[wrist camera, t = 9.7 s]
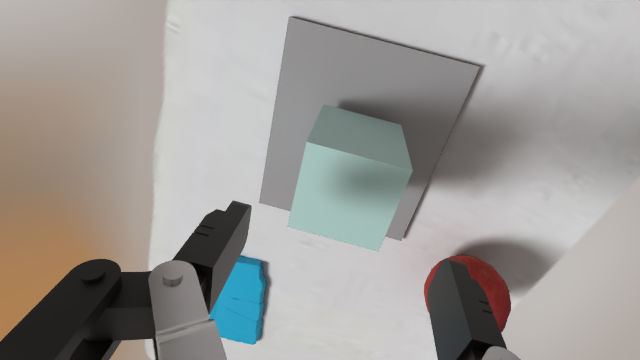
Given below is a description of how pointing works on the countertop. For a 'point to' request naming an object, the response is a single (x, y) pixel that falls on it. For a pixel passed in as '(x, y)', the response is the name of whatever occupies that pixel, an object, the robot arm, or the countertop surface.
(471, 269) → the onion
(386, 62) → the mat
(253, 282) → the sponge
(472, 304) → the robot arm
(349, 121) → the mint green square prism
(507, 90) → the countertop surface
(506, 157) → the countertop surface
